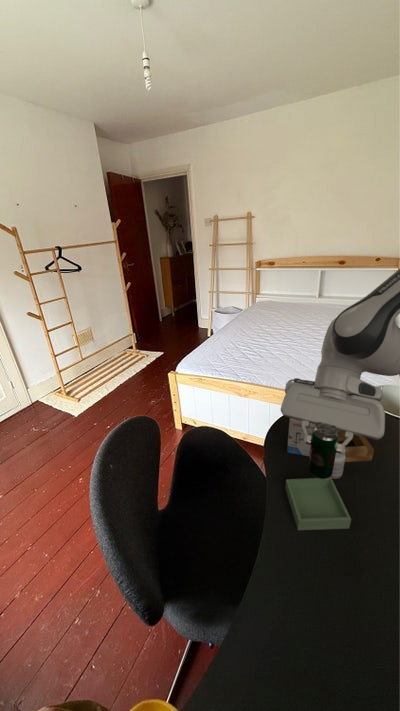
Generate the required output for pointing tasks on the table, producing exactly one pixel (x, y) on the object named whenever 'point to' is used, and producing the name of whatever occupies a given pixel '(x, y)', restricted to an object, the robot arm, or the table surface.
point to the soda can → (323, 450)
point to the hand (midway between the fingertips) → (323, 448)
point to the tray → (316, 504)
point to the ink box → (298, 438)
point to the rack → (357, 448)
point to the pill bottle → (338, 465)
